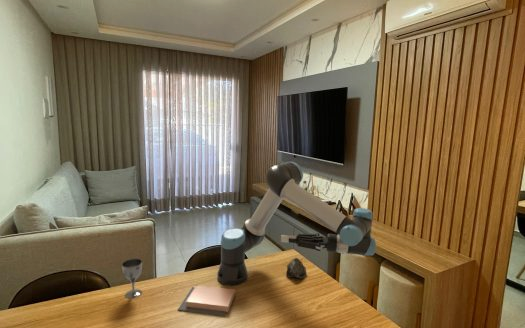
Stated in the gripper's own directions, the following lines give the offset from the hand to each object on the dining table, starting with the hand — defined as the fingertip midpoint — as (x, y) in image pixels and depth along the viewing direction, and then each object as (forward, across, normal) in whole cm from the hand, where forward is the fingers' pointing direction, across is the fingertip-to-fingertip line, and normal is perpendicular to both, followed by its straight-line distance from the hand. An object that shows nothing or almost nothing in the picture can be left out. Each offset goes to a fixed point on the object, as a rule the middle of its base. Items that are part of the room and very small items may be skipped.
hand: (281, 238), depth 128 cm
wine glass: (+64, -10, -28) cm, 71 cm away
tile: (+20, -9, -26) cm, 34 cm away
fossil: (-7, +20, -28) cm, 35 cm away
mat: (+30, -9, -28) cm, 42 cm away
